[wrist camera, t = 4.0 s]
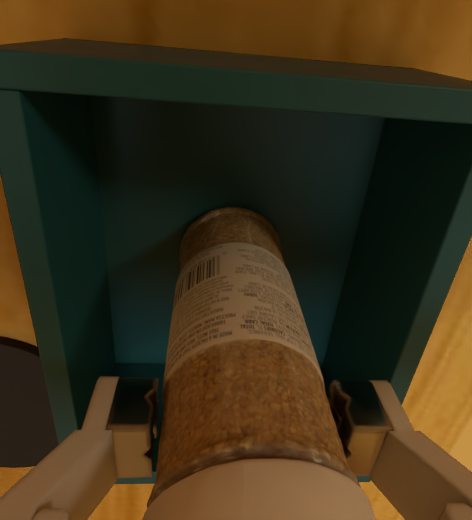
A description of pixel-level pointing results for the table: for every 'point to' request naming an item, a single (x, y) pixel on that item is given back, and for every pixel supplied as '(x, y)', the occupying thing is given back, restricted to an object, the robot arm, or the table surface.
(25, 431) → the pad
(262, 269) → the sprinkles bottle
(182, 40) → the table surface
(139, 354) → the basin
